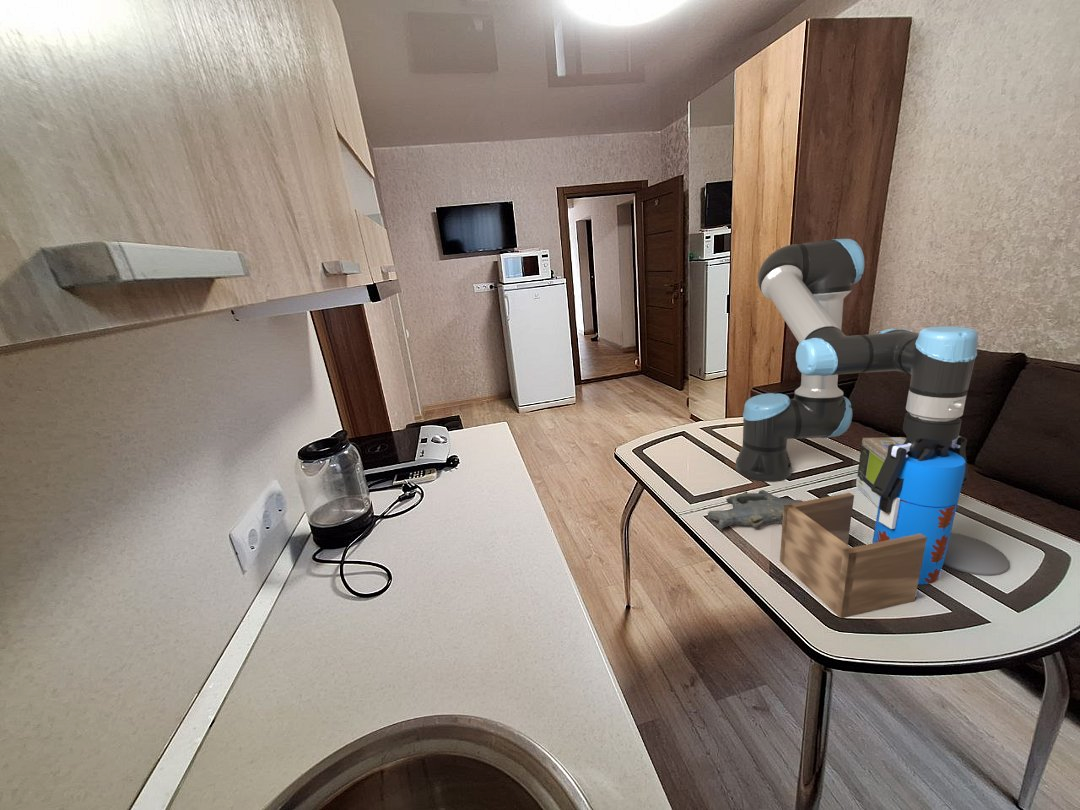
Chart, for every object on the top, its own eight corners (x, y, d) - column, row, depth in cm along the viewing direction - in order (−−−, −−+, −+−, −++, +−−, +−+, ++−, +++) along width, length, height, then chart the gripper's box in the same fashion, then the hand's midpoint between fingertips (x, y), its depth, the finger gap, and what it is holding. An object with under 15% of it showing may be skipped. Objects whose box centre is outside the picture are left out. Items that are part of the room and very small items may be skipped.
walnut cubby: (779, 561, 90) (783, 505, 86) (842, 548, 92) (849, 492, 88) (840, 618, 75) (849, 553, 71) (914, 601, 77) (927, 537, 72)
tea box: (935, 518, 98) (946, 461, 93) (885, 517, 100) (894, 462, 95) (896, 485, 112) (905, 435, 107) (854, 486, 114) (860, 436, 109)
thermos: (857, 552, 90) (873, 447, 82) (903, 546, 90) (924, 440, 83) (903, 589, 79) (927, 471, 72) (955, 581, 80) (985, 463, 72)
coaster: (903, 540, 92) (903, 537, 91) (955, 530, 93) (955, 526, 93) (969, 581, 79) (970, 578, 79) (1027, 568, 81) (1028, 564, 80)
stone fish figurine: (822, 504, 100) (781, 481, 114) (721, 517, 98) (693, 493, 113) (821, 523, 100) (781, 498, 115) (722, 537, 99) (694, 510, 114)
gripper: (894, 431, 70) (877, 541, 77) (1014, 411, 72) (987, 519, 79) (856, 417, 77) (843, 519, 84) (966, 399, 79) (945, 500, 86)
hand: (913, 519), depth 81 cm, fingers closed on thermos, 11 cm apart
